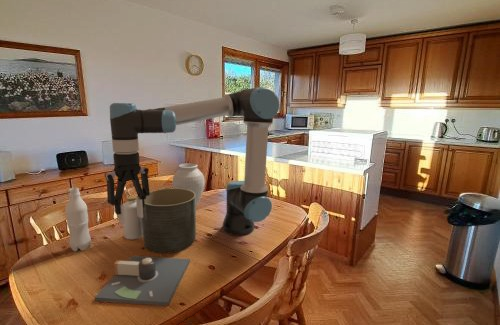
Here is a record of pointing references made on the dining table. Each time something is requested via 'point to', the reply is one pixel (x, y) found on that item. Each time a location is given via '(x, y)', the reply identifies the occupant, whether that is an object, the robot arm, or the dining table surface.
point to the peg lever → (136, 268)
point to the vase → (189, 179)
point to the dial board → (146, 284)
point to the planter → (169, 220)
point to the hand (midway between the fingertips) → (131, 219)
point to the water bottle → (77, 221)
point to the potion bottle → (132, 220)
